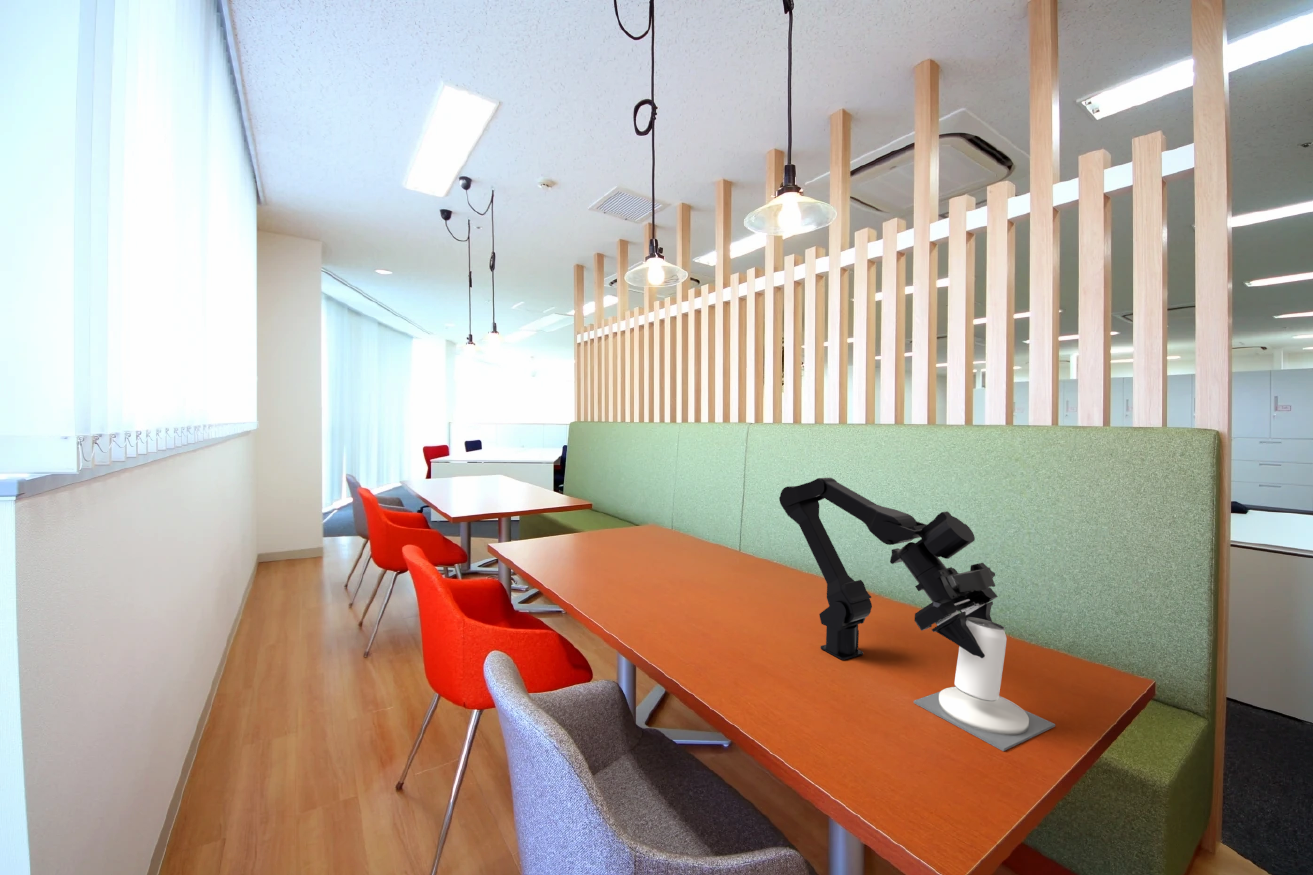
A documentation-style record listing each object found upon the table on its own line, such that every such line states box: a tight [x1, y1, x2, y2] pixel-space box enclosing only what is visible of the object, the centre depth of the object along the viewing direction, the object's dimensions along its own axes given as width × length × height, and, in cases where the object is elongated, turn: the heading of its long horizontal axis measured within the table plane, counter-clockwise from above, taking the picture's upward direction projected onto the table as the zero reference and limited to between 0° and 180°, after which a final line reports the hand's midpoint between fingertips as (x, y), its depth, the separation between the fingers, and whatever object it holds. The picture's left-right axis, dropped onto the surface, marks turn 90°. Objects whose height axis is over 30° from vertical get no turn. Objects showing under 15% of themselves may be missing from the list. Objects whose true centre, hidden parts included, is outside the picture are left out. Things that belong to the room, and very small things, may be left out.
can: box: [954, 617, 1008, 702], centre depth 87 cm, size 6×6×12 cm
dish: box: [913, 685, 1056, 752], centre depth 87 cm, size 15×15×1 cm
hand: (991, 653), depth 86 cm, fingers closed on can, 6 cm apart
